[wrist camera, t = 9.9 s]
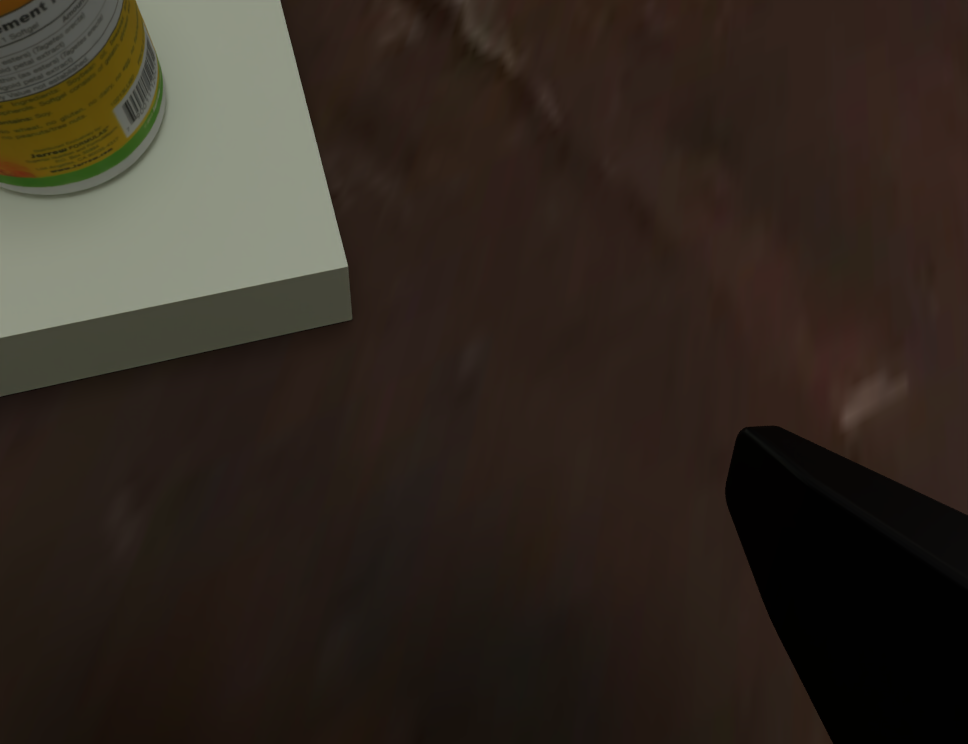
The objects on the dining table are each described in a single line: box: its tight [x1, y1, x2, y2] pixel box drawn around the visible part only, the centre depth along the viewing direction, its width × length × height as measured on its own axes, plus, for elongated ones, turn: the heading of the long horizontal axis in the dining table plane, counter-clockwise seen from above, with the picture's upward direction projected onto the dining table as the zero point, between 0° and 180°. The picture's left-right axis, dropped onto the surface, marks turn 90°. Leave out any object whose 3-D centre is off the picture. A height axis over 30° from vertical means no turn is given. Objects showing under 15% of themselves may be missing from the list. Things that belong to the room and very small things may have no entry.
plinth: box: [0, 0, 352, 397], centre depth 22 cm, size 12×12×4 cm
